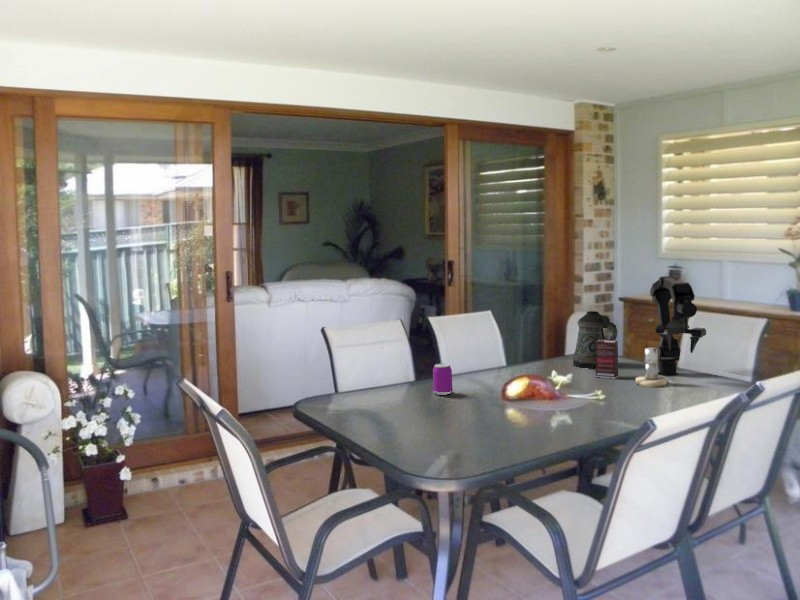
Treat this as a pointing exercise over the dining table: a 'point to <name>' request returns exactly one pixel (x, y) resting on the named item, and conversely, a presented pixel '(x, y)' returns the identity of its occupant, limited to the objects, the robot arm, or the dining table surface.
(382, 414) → the dining table surface
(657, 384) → the birch stand
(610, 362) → the supplement box
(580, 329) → the beer stein
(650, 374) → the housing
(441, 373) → the beverage can
